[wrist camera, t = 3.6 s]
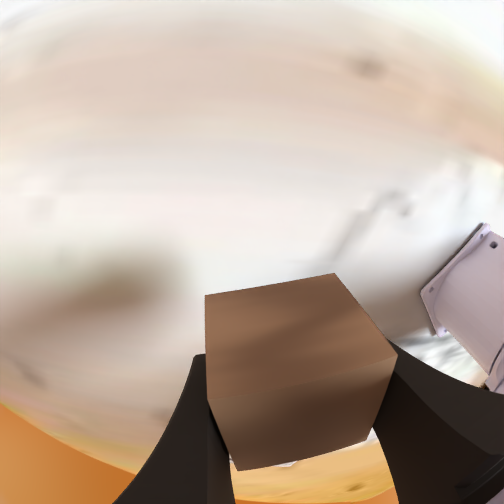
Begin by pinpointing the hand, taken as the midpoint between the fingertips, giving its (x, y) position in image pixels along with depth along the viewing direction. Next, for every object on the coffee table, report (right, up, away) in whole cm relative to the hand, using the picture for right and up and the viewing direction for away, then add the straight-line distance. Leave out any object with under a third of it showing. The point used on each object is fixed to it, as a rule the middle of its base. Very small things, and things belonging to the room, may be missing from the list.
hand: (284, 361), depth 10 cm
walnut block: (0, +1, +1) cm, 2 cm away
